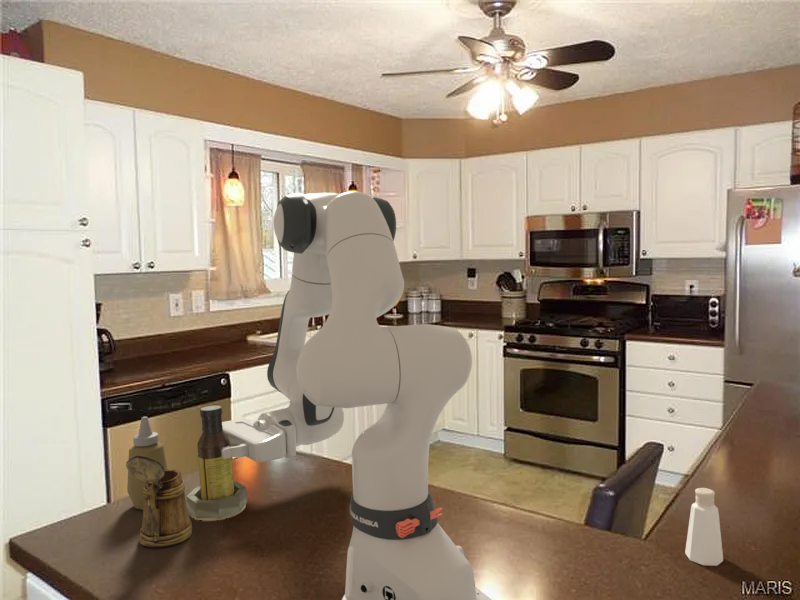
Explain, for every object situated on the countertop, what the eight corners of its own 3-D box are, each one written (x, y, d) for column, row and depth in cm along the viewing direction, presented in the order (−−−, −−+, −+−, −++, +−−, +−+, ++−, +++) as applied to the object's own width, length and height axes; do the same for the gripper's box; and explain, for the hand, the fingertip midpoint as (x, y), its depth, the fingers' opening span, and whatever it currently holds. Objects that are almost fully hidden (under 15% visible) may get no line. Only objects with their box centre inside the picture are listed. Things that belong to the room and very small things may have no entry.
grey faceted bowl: (255, 508, 117) (255, 491, 117) (202, 526, 110) (201, 508, 110) (231, 493, 125) (230, 477, 125) (180, 508, 118) (179, 491, 118)
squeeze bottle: (178, 496, 125) (173, 411, 123) (159, 513, 117) (153, 423, 115) (141, 495, 125) (136, 411, 124) (120, 512, 117) (113, 423, 116)
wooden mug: (116, 562, 98) (109, 456, 97) (153, 525, 112) (147, 431, 110) (170, 562, 98) (163, 455, 96) (200, 524, 111) (194, 430, 110)
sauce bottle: (241, 502, 119) (236, 404, 118) (220, 515, 114) (214, 413, 112) (216, 498, 122) (210, 402, 120) (194, 510, 116) (188, 410, 115)
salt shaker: (703, 569, 91) (704, 499, 91) (677, 552, 97) (678, 486, 96) (731, 563, 93) (732, 494, 92) (704, 546, 98) (705, 481, 97)
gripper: (249, 408, 133) (188, 421, 124) (298, 427, 118) (233, 443, 109) (250, 436, 133) (190, 451, 124) (299, 458, 118) (234, 477, 109)
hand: (210, 448), depth 116 cm, fingers open, 8 cm apart
